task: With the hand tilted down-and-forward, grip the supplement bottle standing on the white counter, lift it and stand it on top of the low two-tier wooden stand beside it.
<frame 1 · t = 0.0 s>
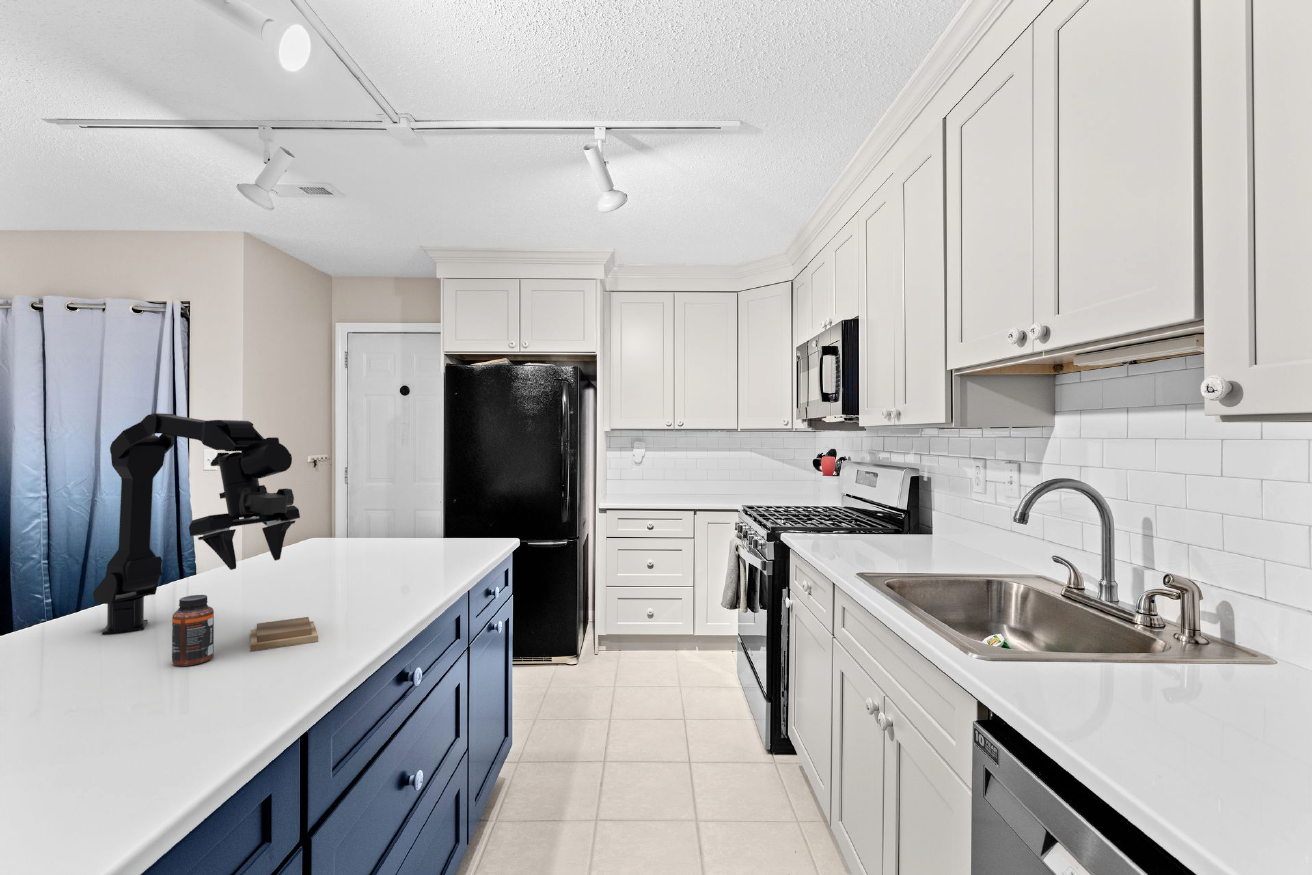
hand: (256, 564, 118), 15 cm above the worktop, tool pointing down, fingers open, 9 cm apart
wooden stand: (283, 638, 123), on the worktop
supplement bottle: (193, 662, 110), on the worktop
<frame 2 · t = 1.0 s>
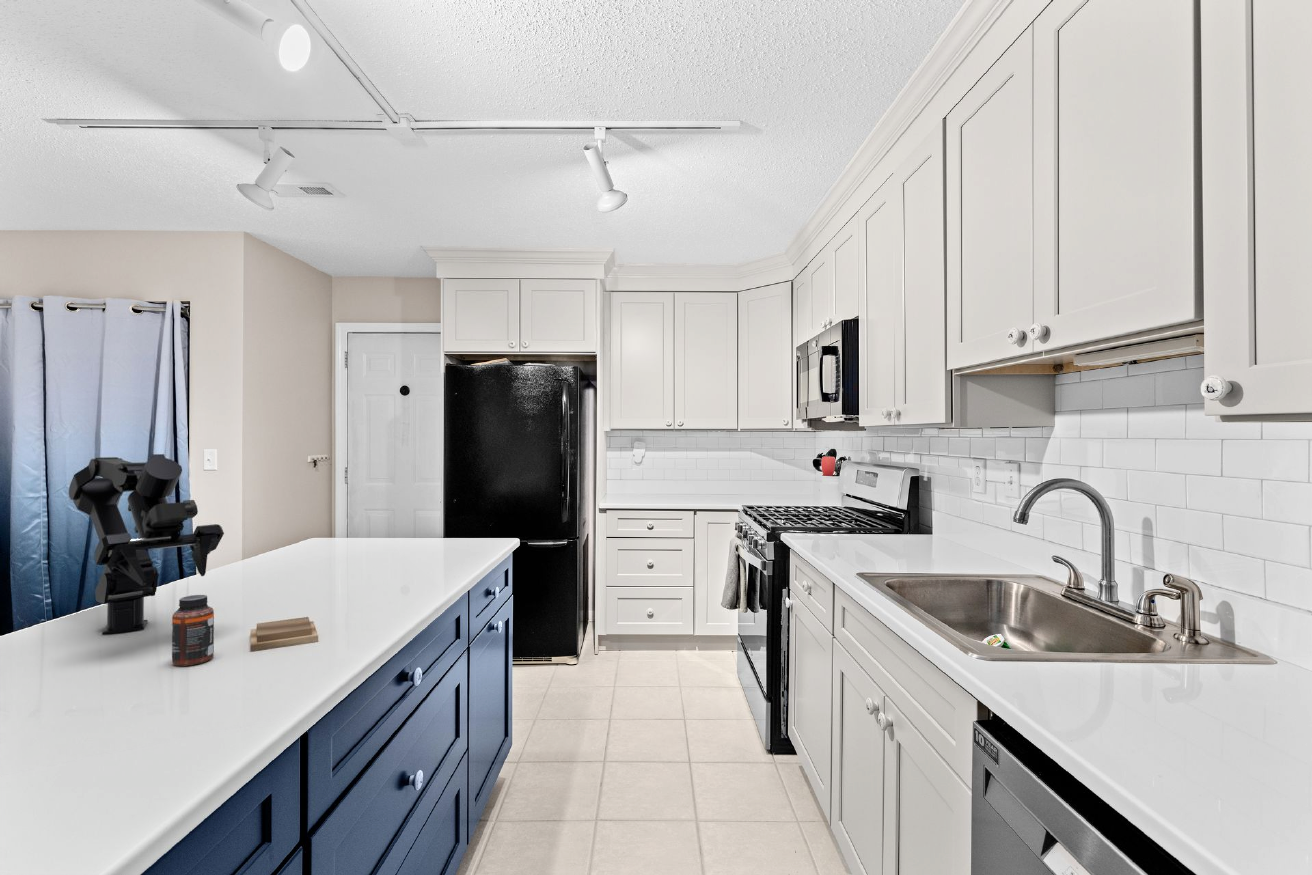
hand: (174, 579, 115), 13 cm above the worktop, tool tilted 45°, fingers open, 9 cm apart
nothing on the worktop moved.
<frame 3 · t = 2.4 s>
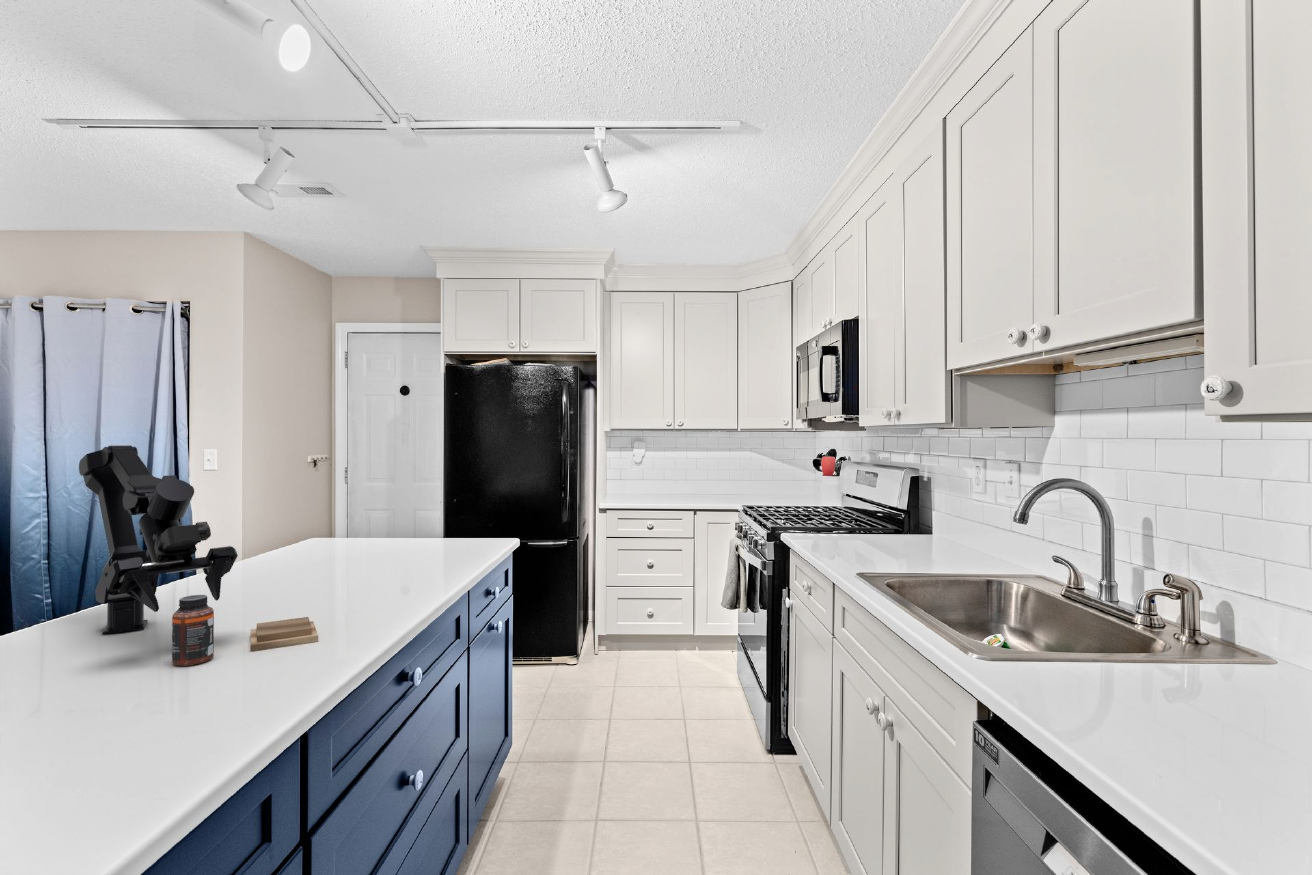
hand: (188, 604, 111), 10 cm above the worktop, tool tilted 45°, fingers open, 9 cm apart
nothing on the worktop moved.
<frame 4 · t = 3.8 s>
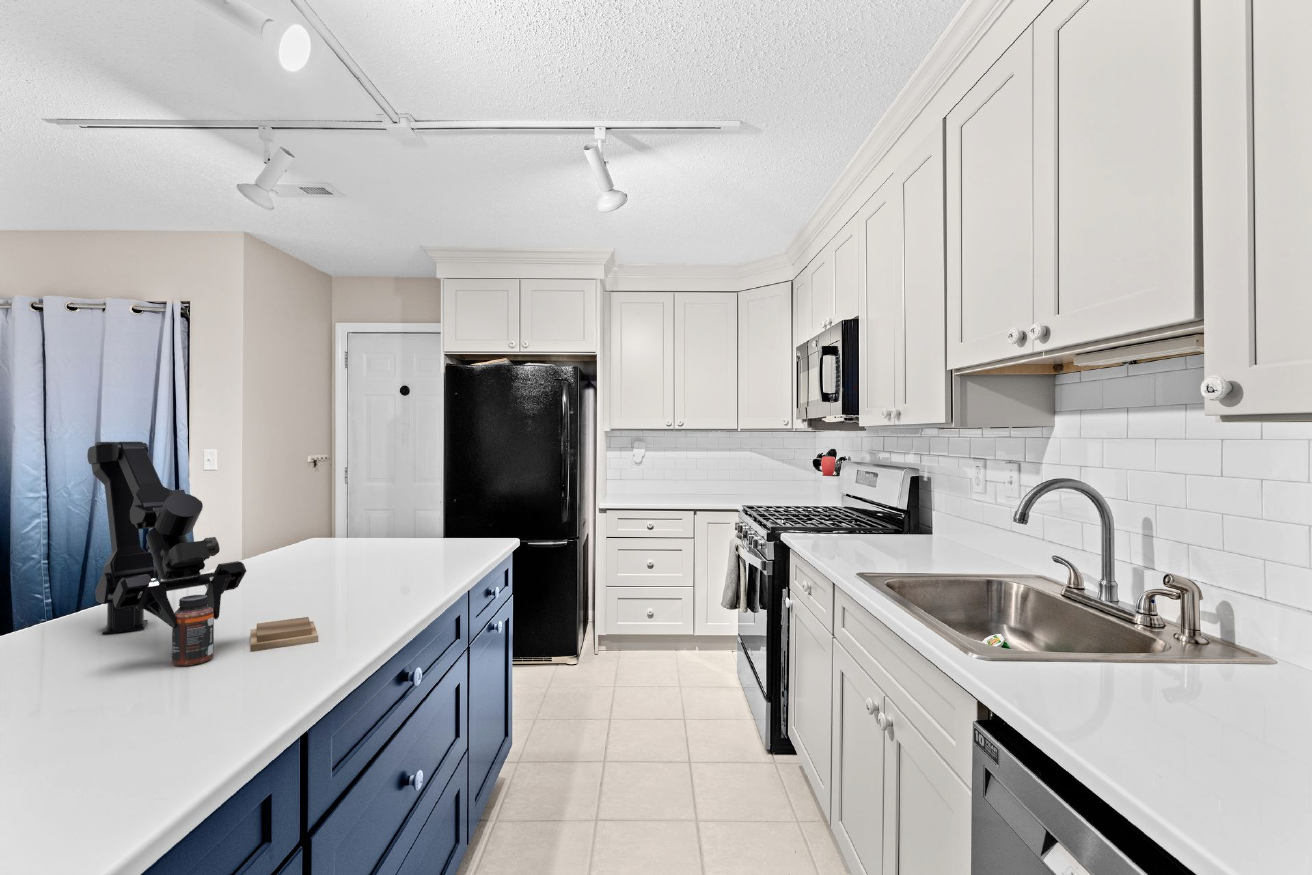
hand: (196, 622, 109), 7 cm above the worktop, tool tilted 45°, fingers closed on supplement bottle, 6 cm apart
supplement bottle: (193, 662, 110), on the worktop, touching gripper
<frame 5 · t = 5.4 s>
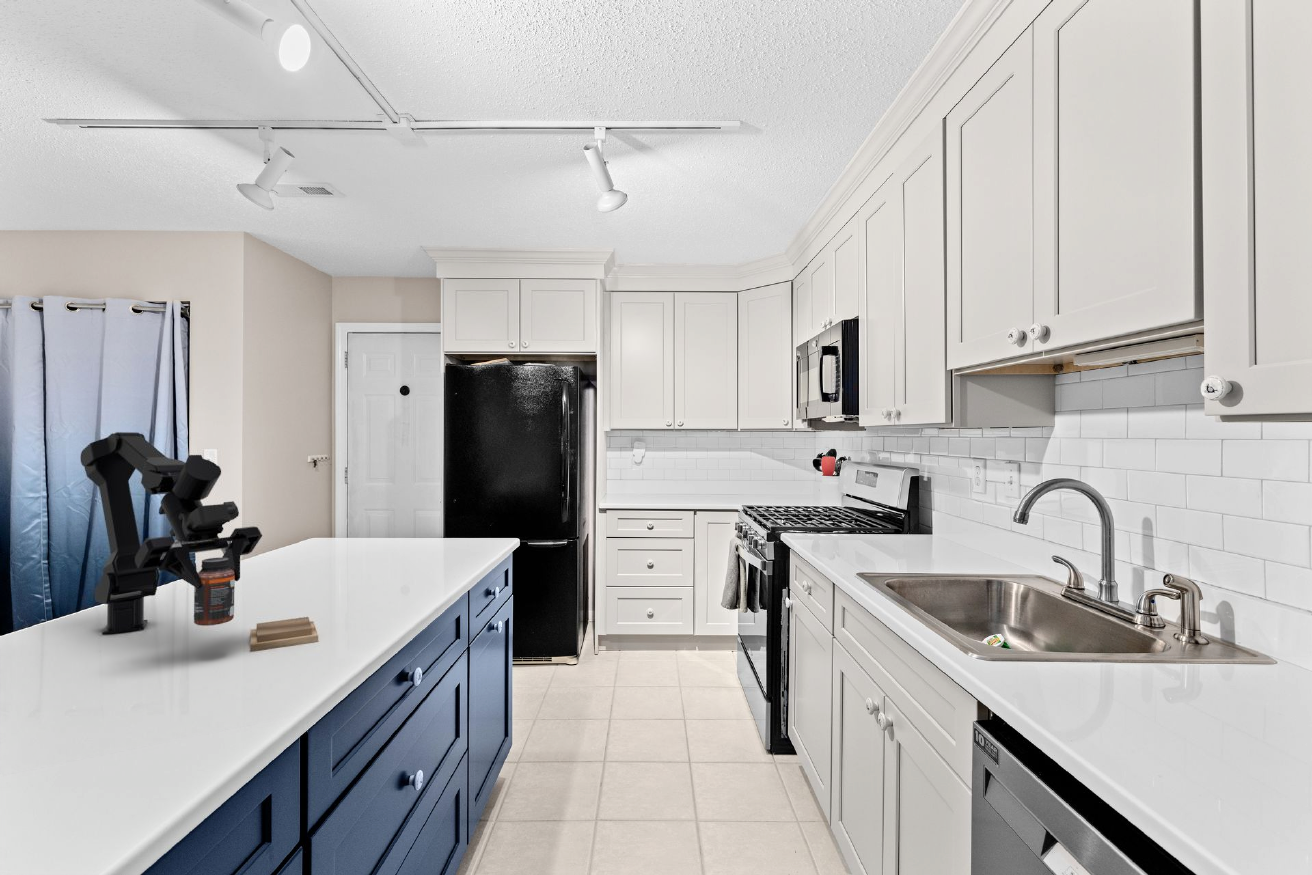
hand: (219, 583, 112), 13 cm above the worktop, tool tilted 45°, fingers closed on supplement bottle, 6 cm apart
supplement bottle: (214, 623, 112), point 6 cm above the worktop, touching gripper
when the fingers open (11 cm above the worktop, at t = 7.2 s): supplement bottle stays where it is, resting on wooden stand.
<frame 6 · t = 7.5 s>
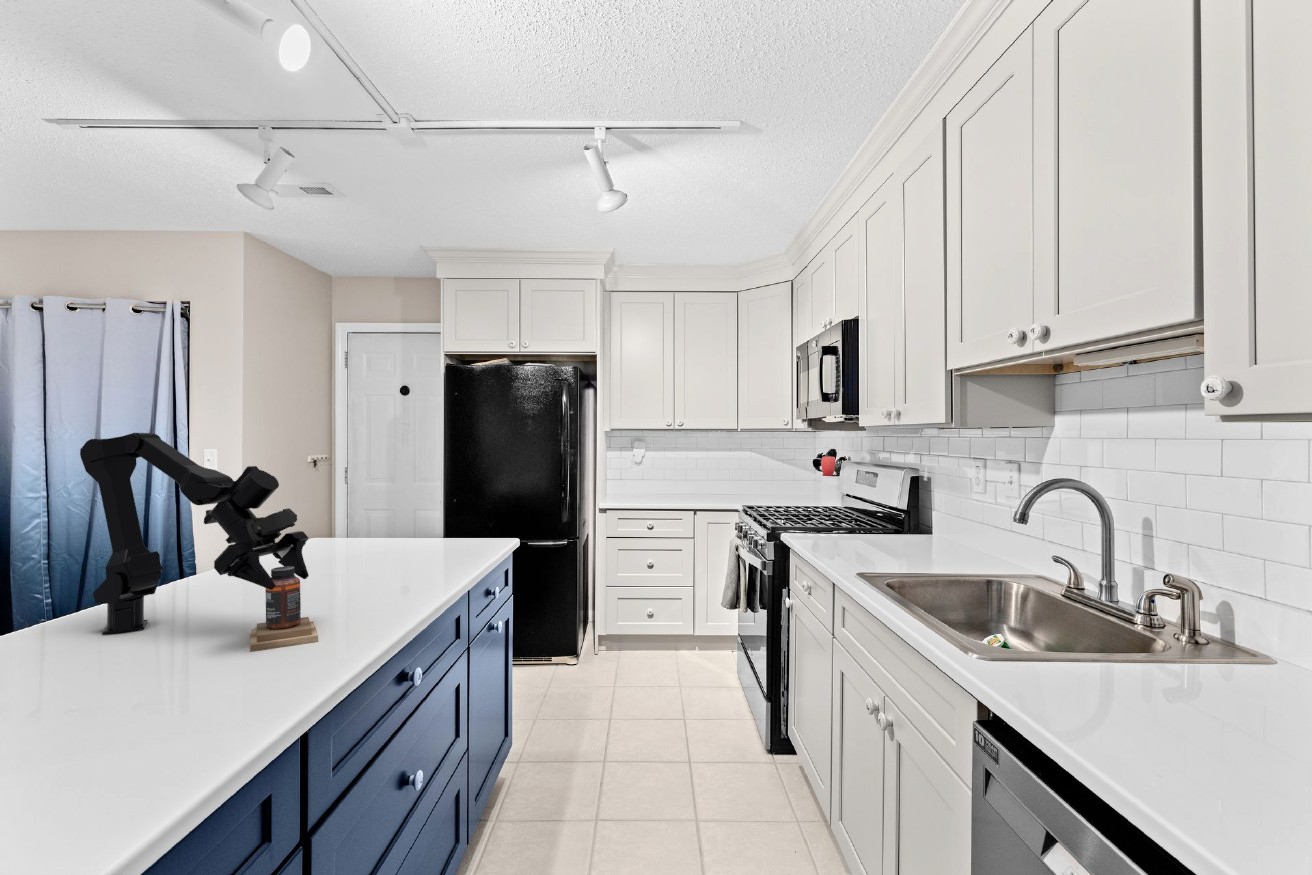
hand: (290, 582, 123), 11 cm above the worktop, tool tilted 45°, fingers open, 9 cm apart
supplement bottle: (283, 626, 123), point 2 cm above the worktop, touching wooden stand
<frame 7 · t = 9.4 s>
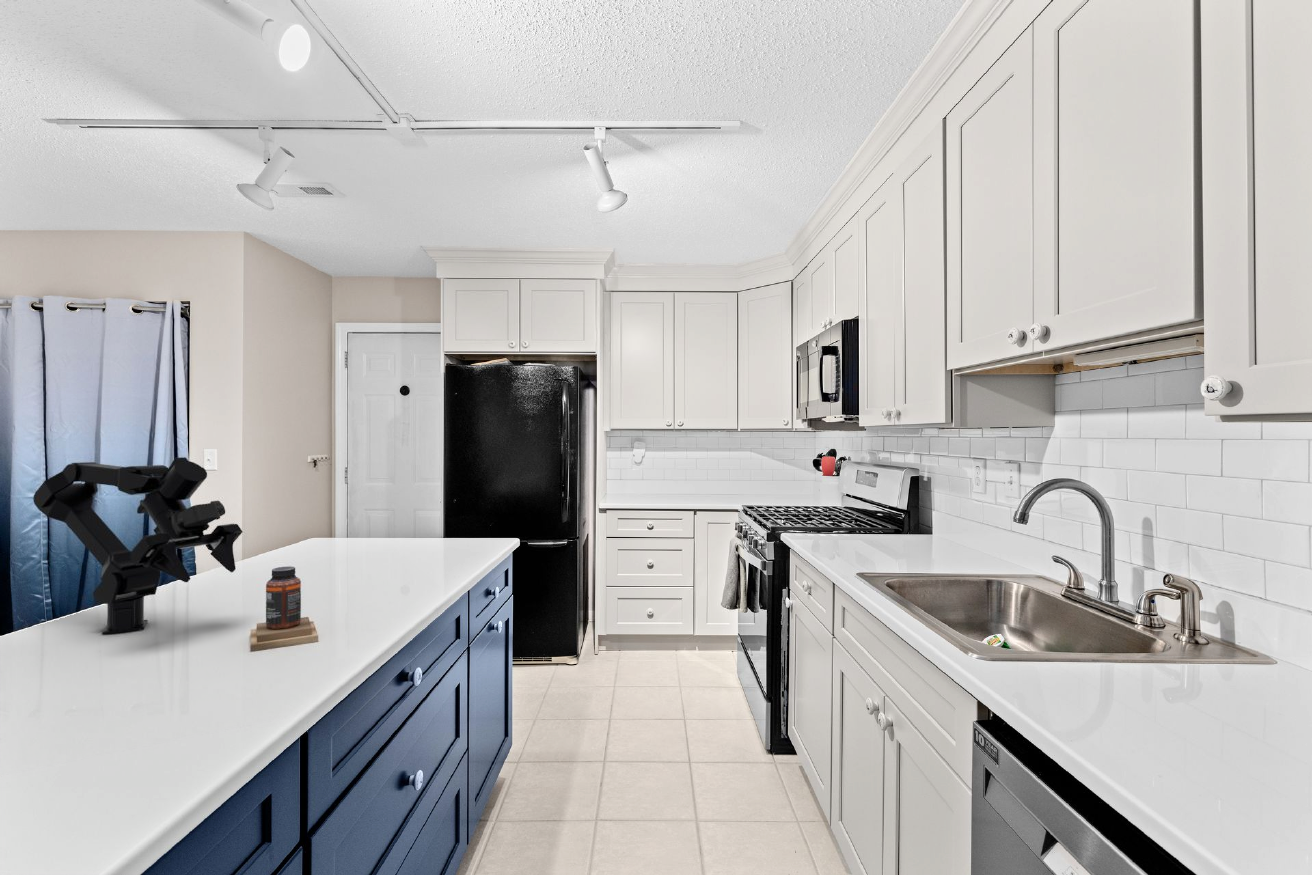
hand: (211, 575, 122), 12 cm above the worktop, tool tilted 45°, fingers open, 9 cm apart
nothing on the worktop moved.
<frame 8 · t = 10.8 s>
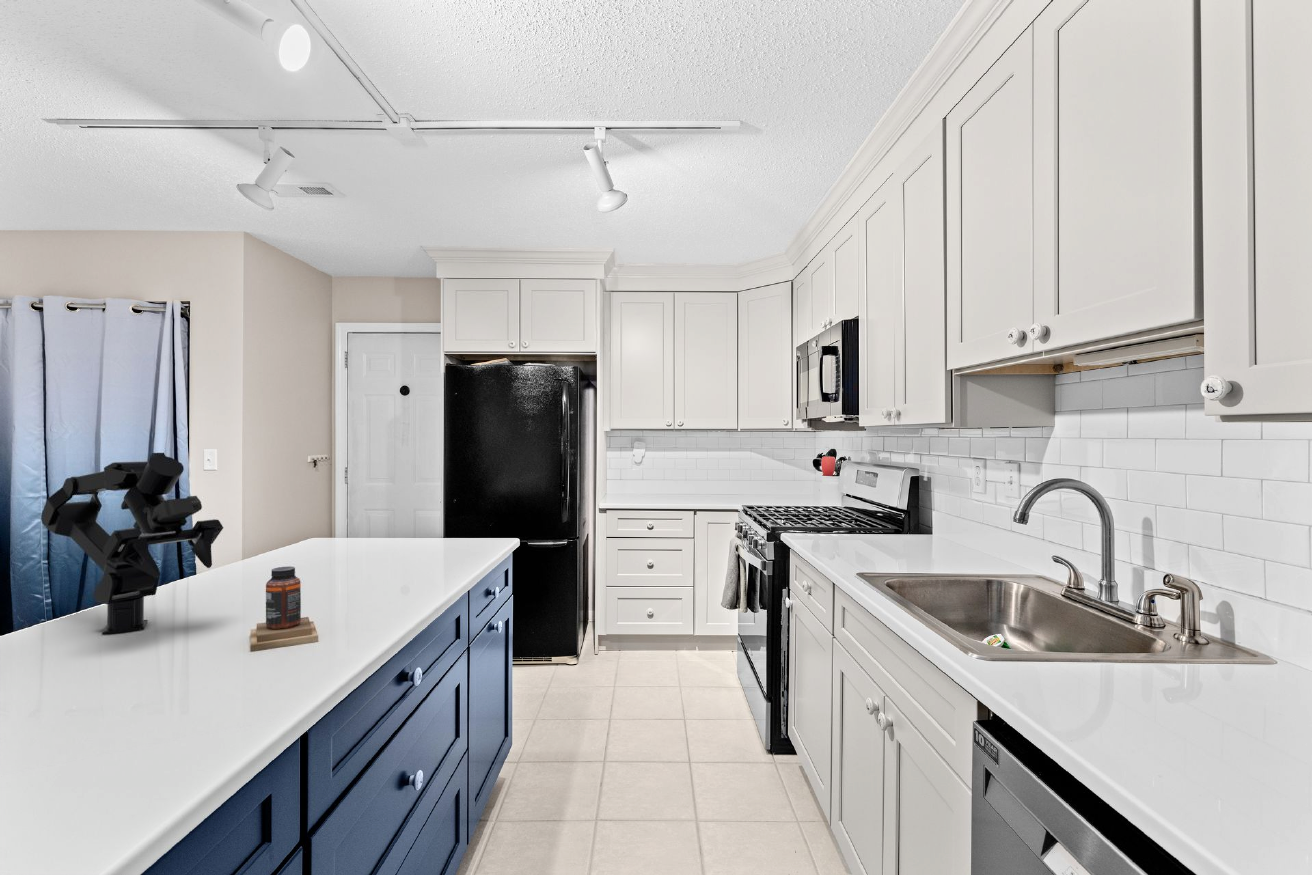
hand: (185, 571, 121), 14 cm above the worktop, tool tilted 45°, fingers open, 9 cm apart
nothing on the worktop moved.
at the end: supplement bottle inside the target area on the wooden stand (0.1 cm from its centre), point 2.3 cm above the wooden stand's base; supplement bottle tilted 0°; the gripper is holding nothing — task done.
